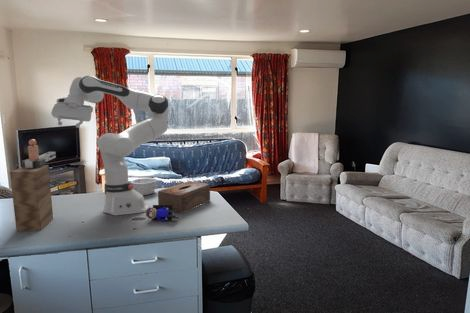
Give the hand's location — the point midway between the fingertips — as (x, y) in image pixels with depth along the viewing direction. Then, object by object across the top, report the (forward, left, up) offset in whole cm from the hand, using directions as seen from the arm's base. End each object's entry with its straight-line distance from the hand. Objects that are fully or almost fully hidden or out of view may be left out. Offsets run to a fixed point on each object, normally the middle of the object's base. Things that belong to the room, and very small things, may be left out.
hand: (68, 126), depth 187 cm
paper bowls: (-38, -8, -42) cm, 57 cm away
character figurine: (-51, +41, -42) cm, 78 cm away
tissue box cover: (-62, +19, -42) cm, 77 cm away
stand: (+5, +39, -41) cm, 57 cm away
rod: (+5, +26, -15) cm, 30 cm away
